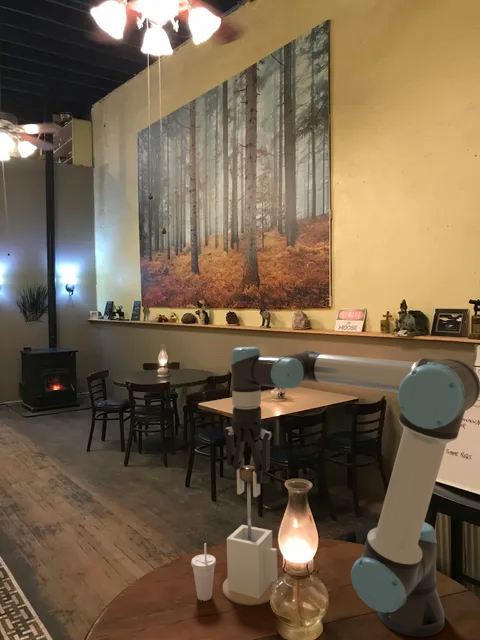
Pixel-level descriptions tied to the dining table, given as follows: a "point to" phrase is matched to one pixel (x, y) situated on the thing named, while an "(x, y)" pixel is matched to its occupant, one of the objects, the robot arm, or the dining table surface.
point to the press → (250, 566)
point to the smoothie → (203, 574)
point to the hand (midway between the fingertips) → (248, 493)
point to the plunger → (248, 492)
